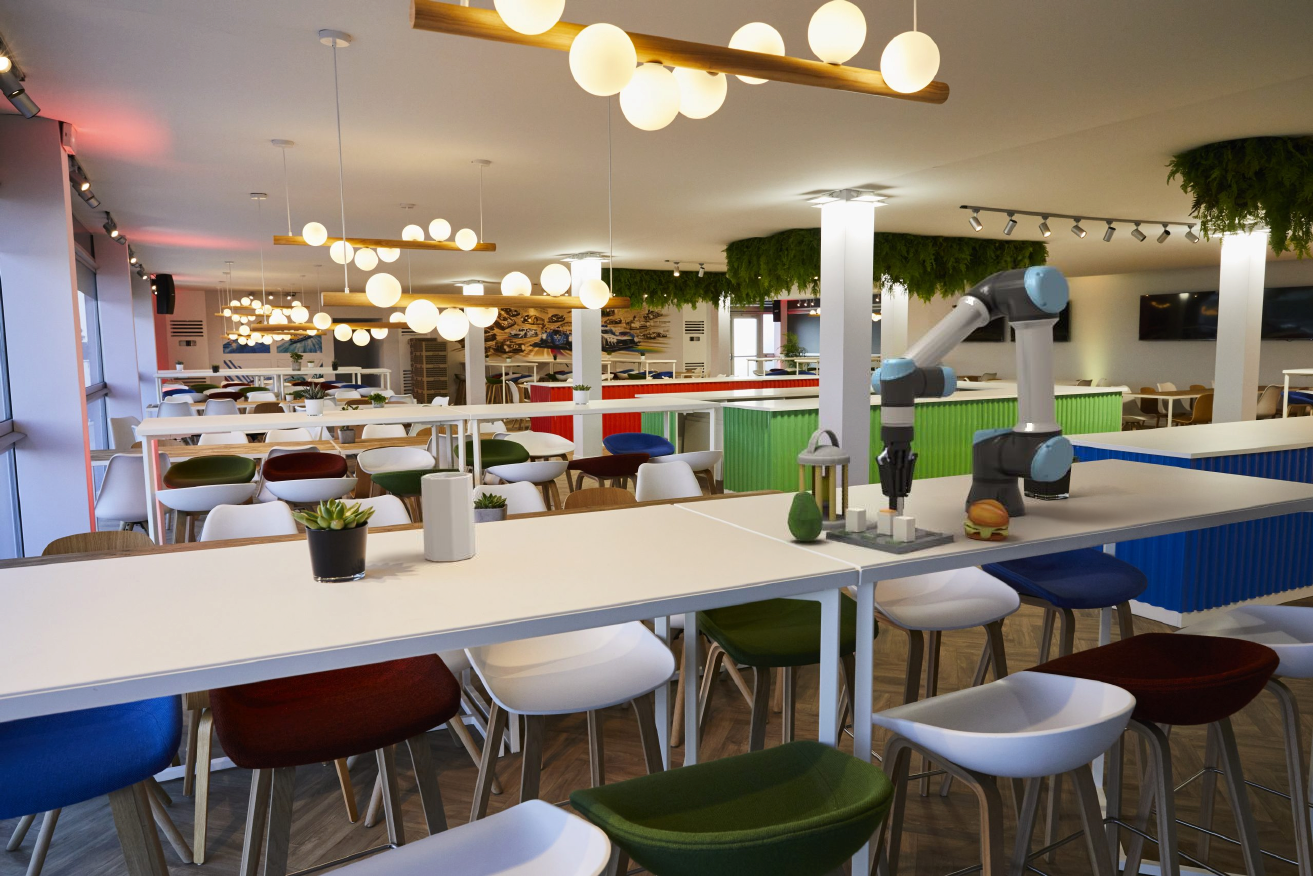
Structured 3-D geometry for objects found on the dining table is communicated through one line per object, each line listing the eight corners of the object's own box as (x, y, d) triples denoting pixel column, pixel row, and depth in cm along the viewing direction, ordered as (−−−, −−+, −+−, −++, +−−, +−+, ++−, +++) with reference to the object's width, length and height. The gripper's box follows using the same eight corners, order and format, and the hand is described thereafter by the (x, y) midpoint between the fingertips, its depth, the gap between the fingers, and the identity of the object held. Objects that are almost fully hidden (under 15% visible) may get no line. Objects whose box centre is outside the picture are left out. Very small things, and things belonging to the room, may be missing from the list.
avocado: (795, 537, 199) (795, 487, 198) (826, 540, 195) (826, 489, 194) (782, 543, 192) (782, 492, 191) (815, 546, 188) (815, 494, 187)
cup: (422, 554, 188) (418, 473, 186) (472, 549, 192) (468, 470, 190) (427, 564, 178) (423, 479, 176) (479, 559, 182) (476, 476, 180)
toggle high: (901, 537, 188) (901, 515, 187) (914, 540, 185) (915, 518, 184) (893, 539, 186) (893, 517, 185) (906, 542, 183) (906, 519, 182)
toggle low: (854, 528, 199) (854, 507, 198) (865, 530, 196) (866, 509, 196) (845, 529, 197) (845, 509, 197) (857, 532, 194) (857, 511, 194)
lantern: (827, 533, 203) (827, 431, 200) (784, 525, 214) (783, 429, 211) (863, 525, 212) (863, 428, 209) (819, 517, 222) (819, 425, 220)
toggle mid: (885, 531, 195) (885, 508, 195) (898, 533, 192) (898, 510, 192) (877, 532, 193) (877, 510, 193) (889, 535, 190) (890, 512, 190)
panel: (881, 527, 207) (881, 519, 207) (953, 541, 190) (954, 532, 190) (825, 538, 196) (825, 529, 196) (898, 554, 179) (898, 544, 179)
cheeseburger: (1000, 532, 199) (1005, 494, 196) (1014, 552, 189) (1020, 512, 186) (957, 531, 200) (961, 493, 197) (969, 551, 190) (973, 511, 187)
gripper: (902, 422, 199) (901, 518, 201) (866, 425, 192) (865, 525, 194) (928, 424, 193) (926, 523, 195) (892, 427, 186) (891, 530, 188)
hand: (896, 524), depth 194 cm, fingers closed
